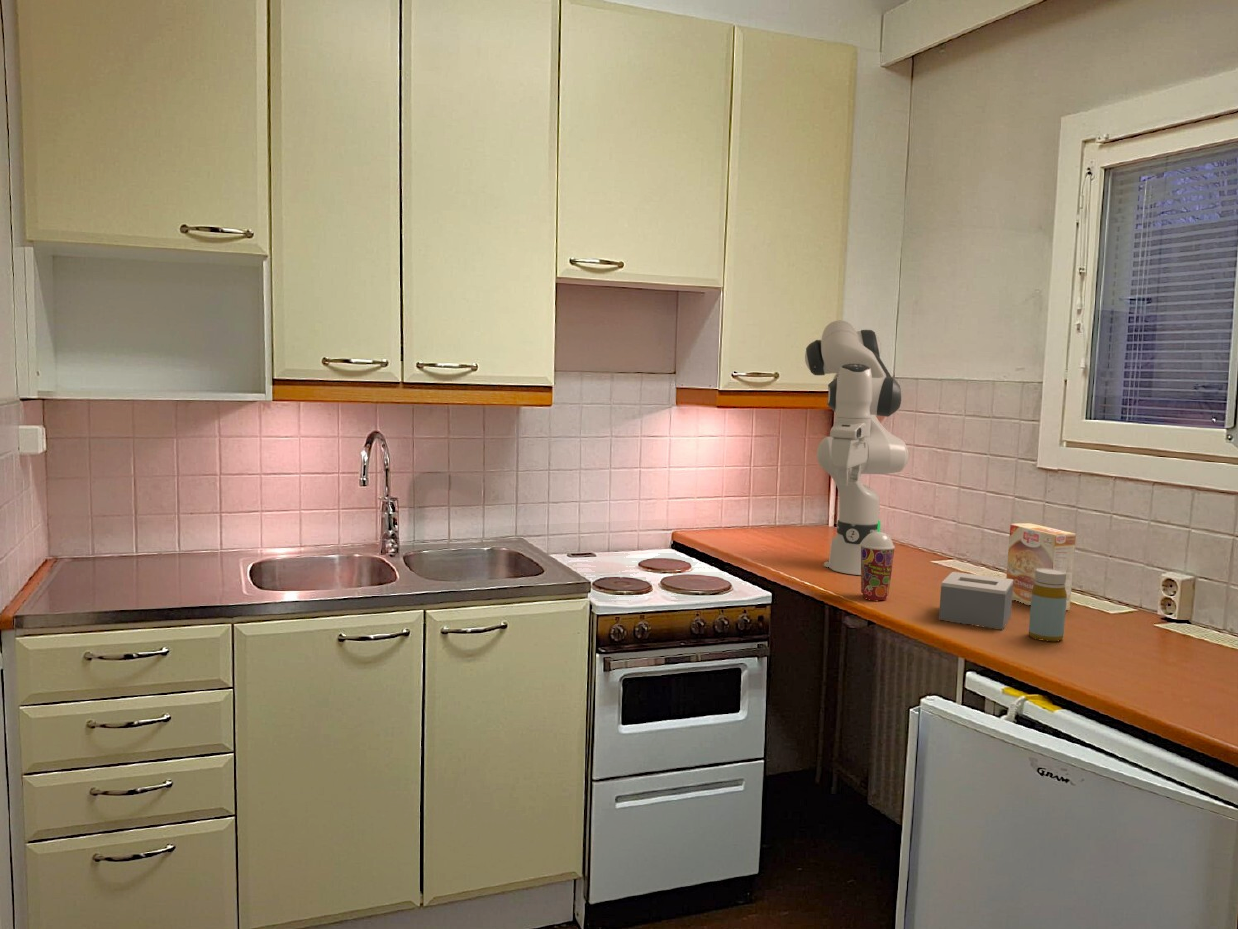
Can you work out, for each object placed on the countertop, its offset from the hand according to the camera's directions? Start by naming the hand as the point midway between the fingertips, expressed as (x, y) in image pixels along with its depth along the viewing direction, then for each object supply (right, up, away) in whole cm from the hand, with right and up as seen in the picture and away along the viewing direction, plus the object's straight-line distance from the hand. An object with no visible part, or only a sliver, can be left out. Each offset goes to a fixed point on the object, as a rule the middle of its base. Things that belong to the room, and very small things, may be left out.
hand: (849, 483), depth 240 cm
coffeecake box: (+48, -31, 0) cm, 57 cm away
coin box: (+26, -32, -15) cm, 44 cm away
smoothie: (+7, -29, +1) cm, 30 cm away
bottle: (+36, -34, -30) cm, 58 cm away
